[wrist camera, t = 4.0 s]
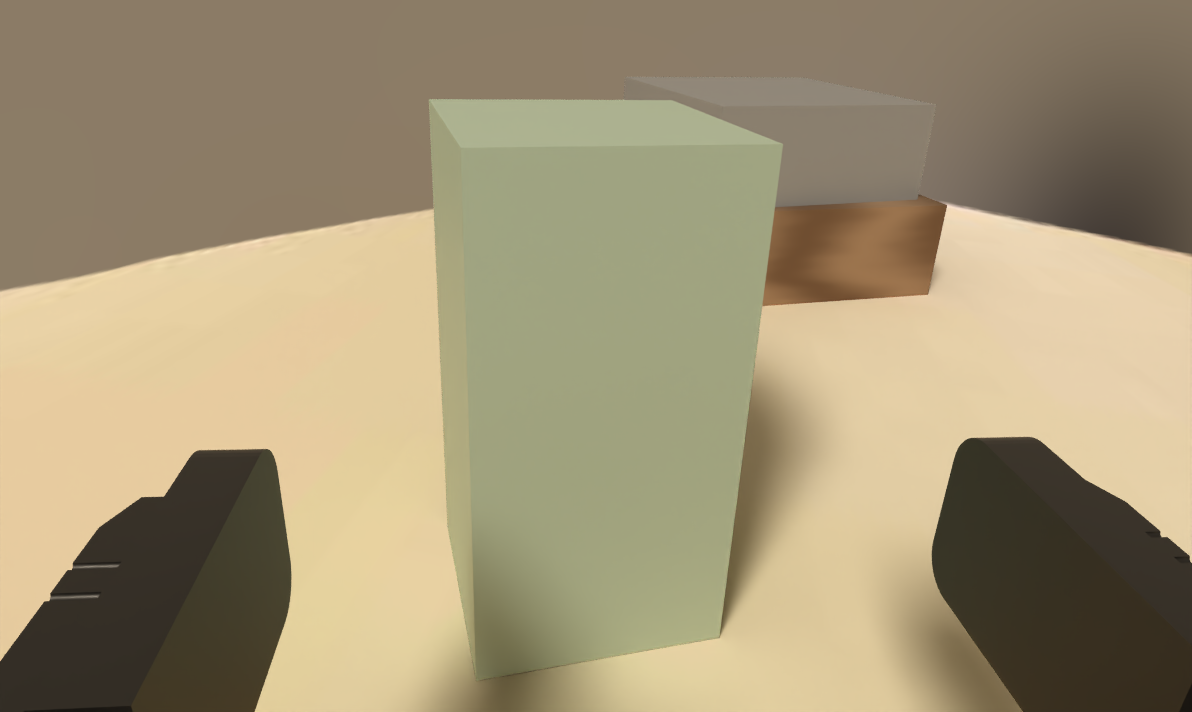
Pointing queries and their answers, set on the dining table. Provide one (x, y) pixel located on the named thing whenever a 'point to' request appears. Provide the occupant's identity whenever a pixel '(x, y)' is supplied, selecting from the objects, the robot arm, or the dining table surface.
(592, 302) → the sage pillar block
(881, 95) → the slate grey block
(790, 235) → the walnut base block
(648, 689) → the dining table surface
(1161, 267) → the dining table surface
